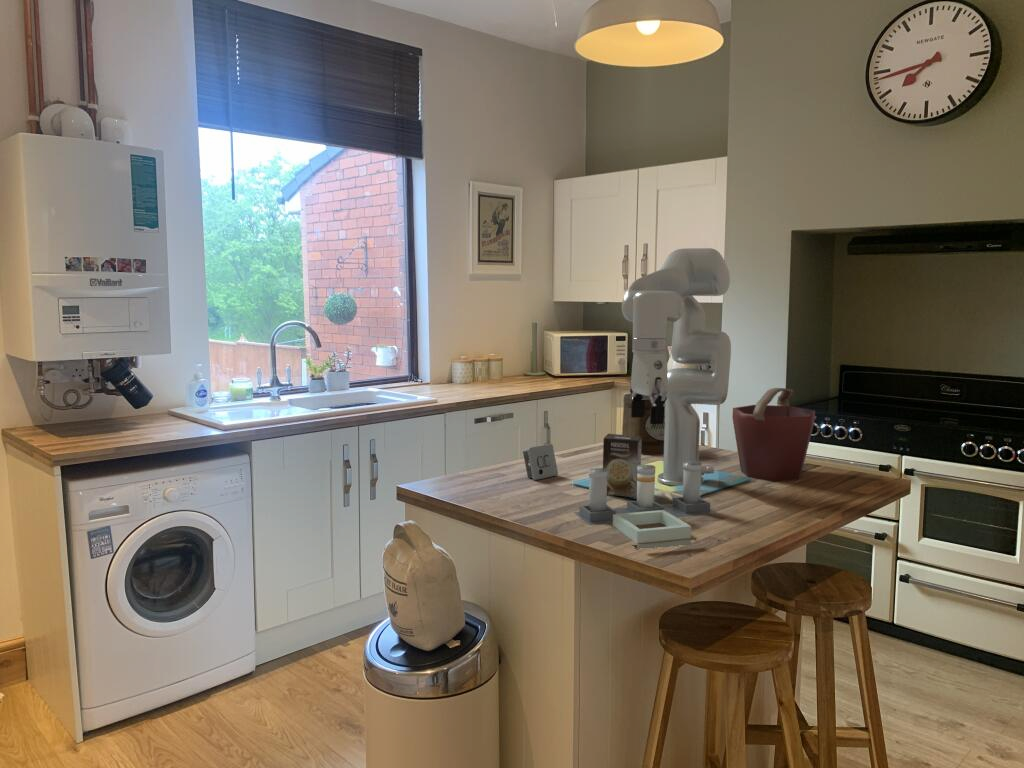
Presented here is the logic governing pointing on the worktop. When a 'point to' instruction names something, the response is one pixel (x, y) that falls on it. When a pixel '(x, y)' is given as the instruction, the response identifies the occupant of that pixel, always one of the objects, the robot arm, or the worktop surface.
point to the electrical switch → (540, 462)
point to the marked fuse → (645, 486)
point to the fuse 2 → (691, 482)
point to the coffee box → (622, 463)
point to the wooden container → (643, 427)
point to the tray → (671, 532)
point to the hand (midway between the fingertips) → (647, 420)
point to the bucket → (772, 437)
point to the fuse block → (674, 509)
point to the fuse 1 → (597, 489)
